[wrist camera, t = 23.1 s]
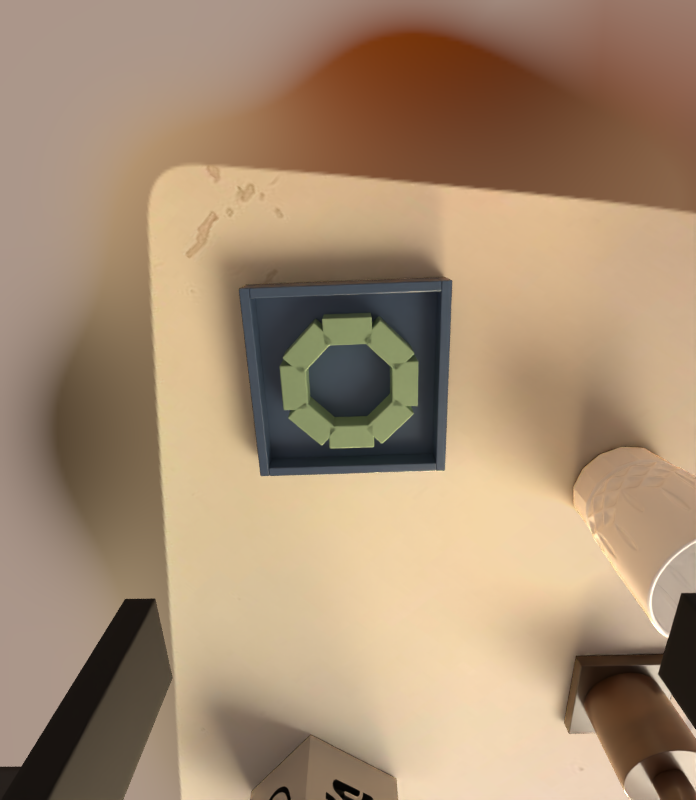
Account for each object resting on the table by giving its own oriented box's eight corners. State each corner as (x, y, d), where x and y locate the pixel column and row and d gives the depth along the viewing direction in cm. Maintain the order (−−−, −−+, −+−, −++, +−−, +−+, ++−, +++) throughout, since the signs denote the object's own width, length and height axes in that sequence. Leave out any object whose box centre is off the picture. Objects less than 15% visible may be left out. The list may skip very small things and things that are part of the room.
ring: (415, 310, 28) (419, 315, 26) (414, 435, 31) (417, 446, 29) (278, 315, 28) (274, 320, 27) (290, 439, 31) (286, 450, 29)
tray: (445, 277, 28) (452, 280, 26) (439, 456, 32) (445, 471, 30) (245, 284, 28) (238, 288, 26) (265, 462, 32) (260, 476, 30)
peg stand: (672, 653, 38) (808, 830, 27) (654, 720, 41) (770, 907, 29) (575, 655, 38) (669, 832, 27) (563, 722, 41) (644, 908, 30)
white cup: (700, 468, 32) (844, 565, 23) (626, 549, 34) (729, 668, 25) (611, 418, 31) (725, 500, 21) (541, 507, 33) (615, 614, 24)
